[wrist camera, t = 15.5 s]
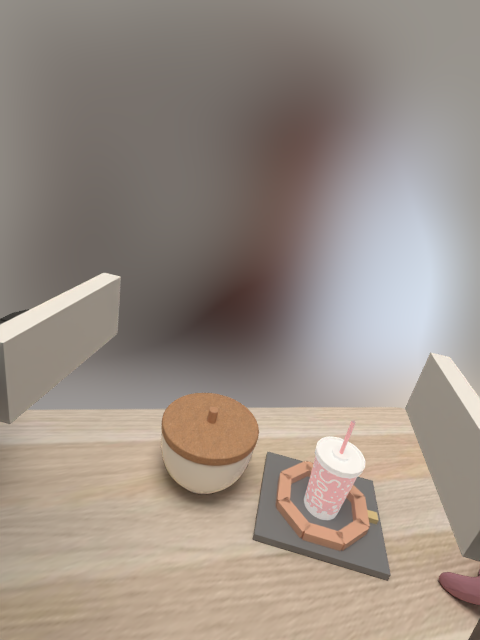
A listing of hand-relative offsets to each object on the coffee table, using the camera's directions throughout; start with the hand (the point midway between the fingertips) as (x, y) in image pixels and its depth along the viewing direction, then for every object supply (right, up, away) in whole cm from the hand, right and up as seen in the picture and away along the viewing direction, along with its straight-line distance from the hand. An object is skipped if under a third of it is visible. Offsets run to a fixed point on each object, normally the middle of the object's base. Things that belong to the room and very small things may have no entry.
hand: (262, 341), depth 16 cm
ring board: (+10, -25, +34) cm, 43 cm away
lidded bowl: (-6, -21, +36) cm, 42 cm away
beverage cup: (+10, -24, +34) cm, 43 cm away
